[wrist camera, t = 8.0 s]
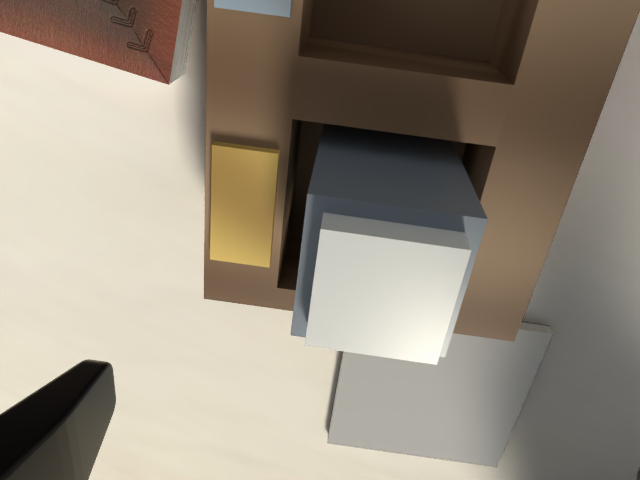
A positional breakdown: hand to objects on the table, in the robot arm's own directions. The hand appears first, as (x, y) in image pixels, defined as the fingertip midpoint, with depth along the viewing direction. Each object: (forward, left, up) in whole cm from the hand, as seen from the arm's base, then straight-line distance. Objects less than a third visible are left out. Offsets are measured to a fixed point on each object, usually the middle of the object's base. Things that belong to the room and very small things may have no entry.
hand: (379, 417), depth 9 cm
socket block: (+3, 0, -11) cm, 12 cm away
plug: (0, 0, -11) cm, 11 cm away
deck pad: (-10, -4, -11) cm, 15 cm away
